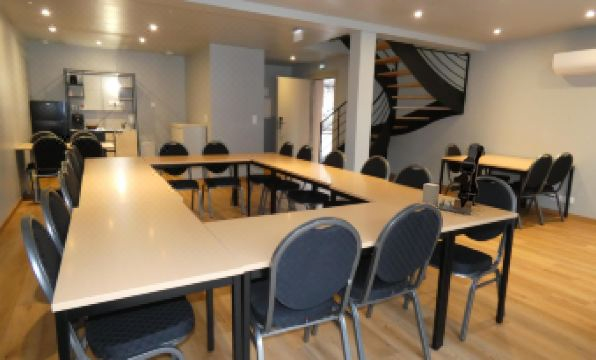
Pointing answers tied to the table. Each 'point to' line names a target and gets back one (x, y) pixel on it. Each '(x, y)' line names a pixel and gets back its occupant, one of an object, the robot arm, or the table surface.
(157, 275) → the table surface
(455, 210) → the board
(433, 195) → the skincare box
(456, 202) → the tan rectangular box
